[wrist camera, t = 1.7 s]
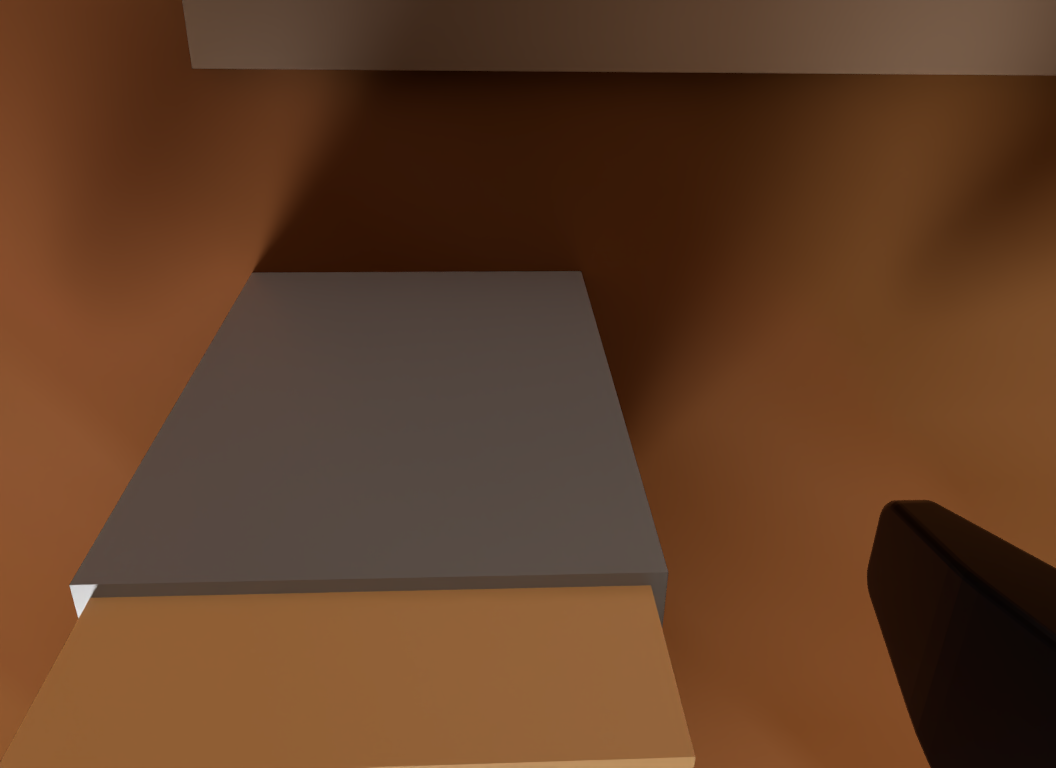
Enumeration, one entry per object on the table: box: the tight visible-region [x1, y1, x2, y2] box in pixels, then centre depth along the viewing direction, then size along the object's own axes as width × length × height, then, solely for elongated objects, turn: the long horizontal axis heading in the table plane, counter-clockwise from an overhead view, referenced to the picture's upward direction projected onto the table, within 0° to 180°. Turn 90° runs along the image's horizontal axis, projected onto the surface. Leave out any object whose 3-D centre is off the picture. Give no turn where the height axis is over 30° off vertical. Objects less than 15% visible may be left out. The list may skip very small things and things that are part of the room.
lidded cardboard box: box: [0, 271, 695, 768], centre depth 8 cm, size 4×4×6 cm
